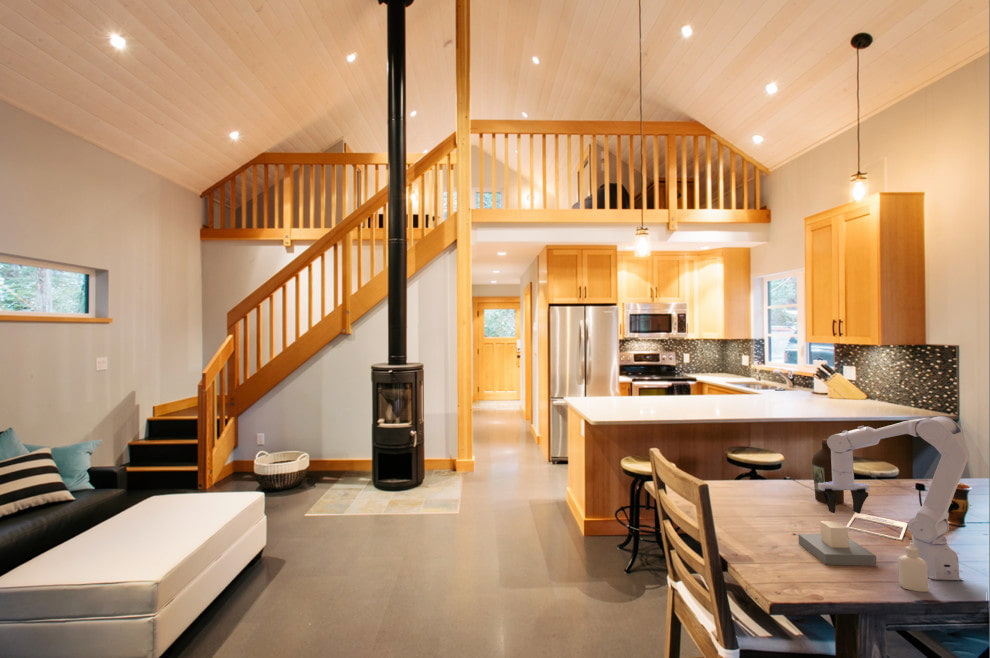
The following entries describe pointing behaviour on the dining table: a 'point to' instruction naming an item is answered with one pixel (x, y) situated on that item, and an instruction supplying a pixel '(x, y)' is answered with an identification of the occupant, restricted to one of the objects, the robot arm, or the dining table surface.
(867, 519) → the photo frame
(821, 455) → the olive oil
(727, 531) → the dining table surface
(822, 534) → the cream block
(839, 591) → the dining table surface
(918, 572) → the eye dropper bottle
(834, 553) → the base plinth
